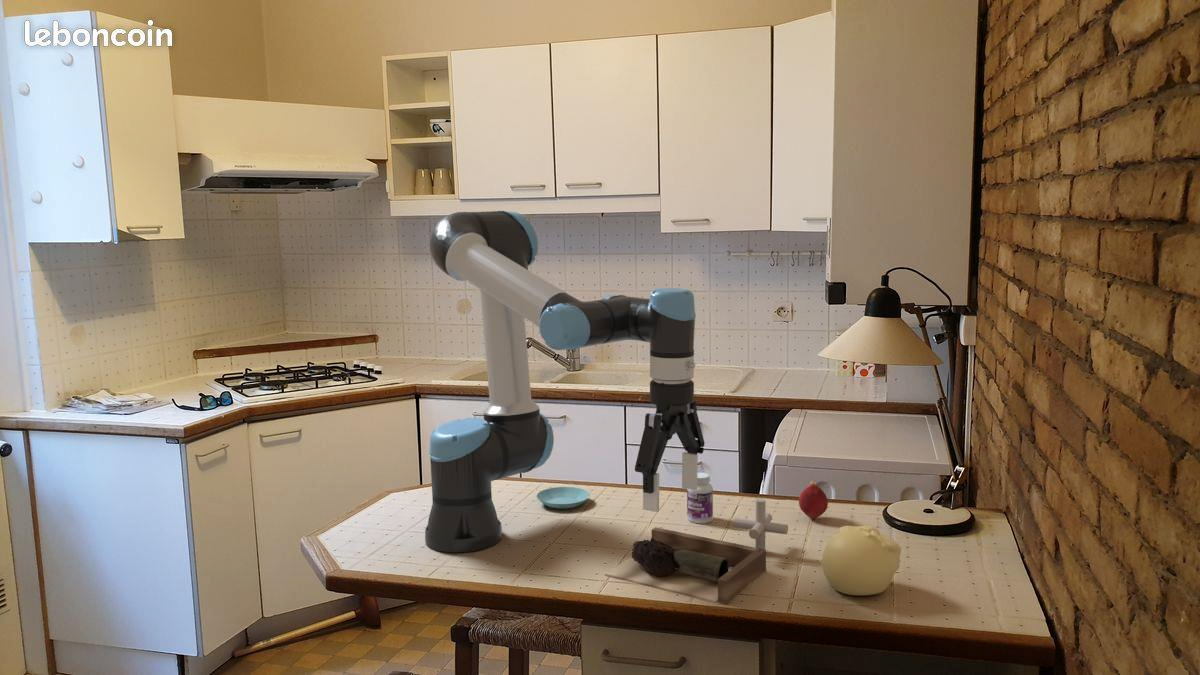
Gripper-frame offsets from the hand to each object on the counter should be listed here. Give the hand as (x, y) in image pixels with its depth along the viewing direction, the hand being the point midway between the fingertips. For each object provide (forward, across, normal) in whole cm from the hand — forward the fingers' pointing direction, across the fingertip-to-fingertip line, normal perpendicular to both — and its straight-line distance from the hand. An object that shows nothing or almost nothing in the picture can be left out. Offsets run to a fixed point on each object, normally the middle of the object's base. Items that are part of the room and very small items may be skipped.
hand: (671, 499), depth 156 cm
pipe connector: (+14, +19, -9) cm, 25 cm away
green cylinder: (+14, 0, -1) cm, 14 cm away
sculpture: (+14, +12, -30) cm, 35 cm away
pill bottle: (+15, +29, +9) cm, 34 cm away
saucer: (+16, +23, +40) cm, 49 cm away
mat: (+14, 0, -1) cm, 14 cm away
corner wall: (+14, +3, -2) cm, 15 cm away
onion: (+14, +41, -11) cm, 45 cm away
